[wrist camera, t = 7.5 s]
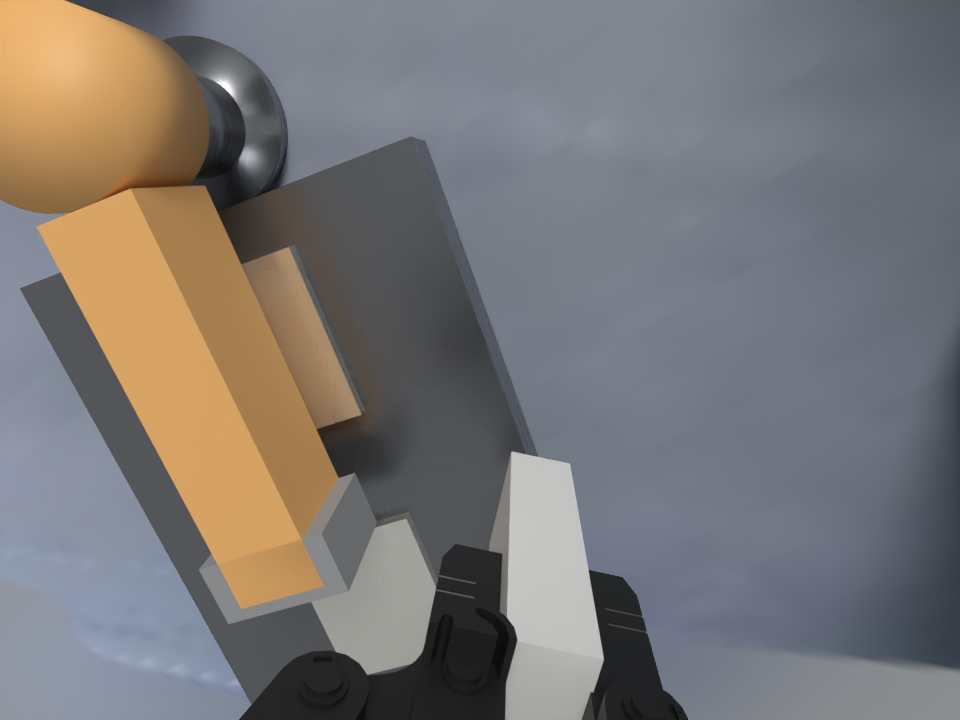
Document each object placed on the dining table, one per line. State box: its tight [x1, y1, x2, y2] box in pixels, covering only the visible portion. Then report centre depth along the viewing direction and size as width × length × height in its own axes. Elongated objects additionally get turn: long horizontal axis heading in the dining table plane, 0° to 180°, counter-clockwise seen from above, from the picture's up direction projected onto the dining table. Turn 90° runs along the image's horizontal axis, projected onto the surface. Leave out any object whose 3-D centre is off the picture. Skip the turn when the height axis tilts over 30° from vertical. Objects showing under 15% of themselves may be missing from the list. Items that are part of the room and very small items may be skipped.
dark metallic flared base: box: [162, 36, 287, 212], centre depth 17 cm, size 5×5×4 cm
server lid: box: [20, 137, 538, 704], centre depth 20 cm, size 16×12×3 cm
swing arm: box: [0, 0, 377, 624], centre depth 14 cm, size 14×4×3 cm, turn 20°
